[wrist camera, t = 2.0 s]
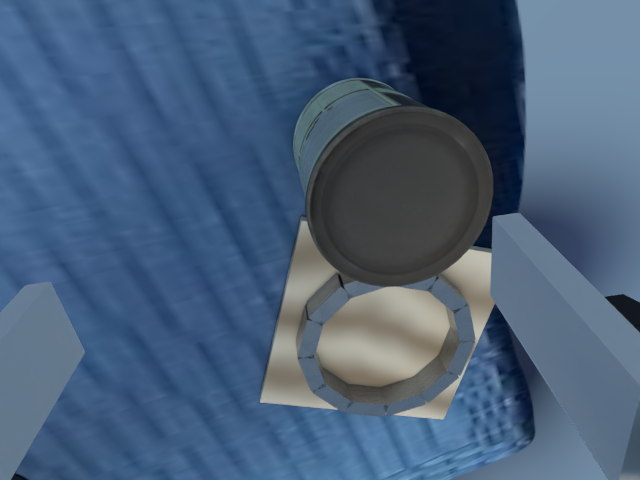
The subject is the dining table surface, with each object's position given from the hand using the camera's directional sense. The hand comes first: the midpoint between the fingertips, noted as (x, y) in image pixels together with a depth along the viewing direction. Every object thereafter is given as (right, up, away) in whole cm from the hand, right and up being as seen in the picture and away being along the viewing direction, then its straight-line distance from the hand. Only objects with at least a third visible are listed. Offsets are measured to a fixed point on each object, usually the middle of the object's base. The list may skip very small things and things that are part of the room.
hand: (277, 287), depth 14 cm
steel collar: (+7, -7, +32) cm, 33 cm away
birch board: (+7, -7, +32) cm, 33 cm away
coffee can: (+4, +9, +24) cm, 26 cm away
